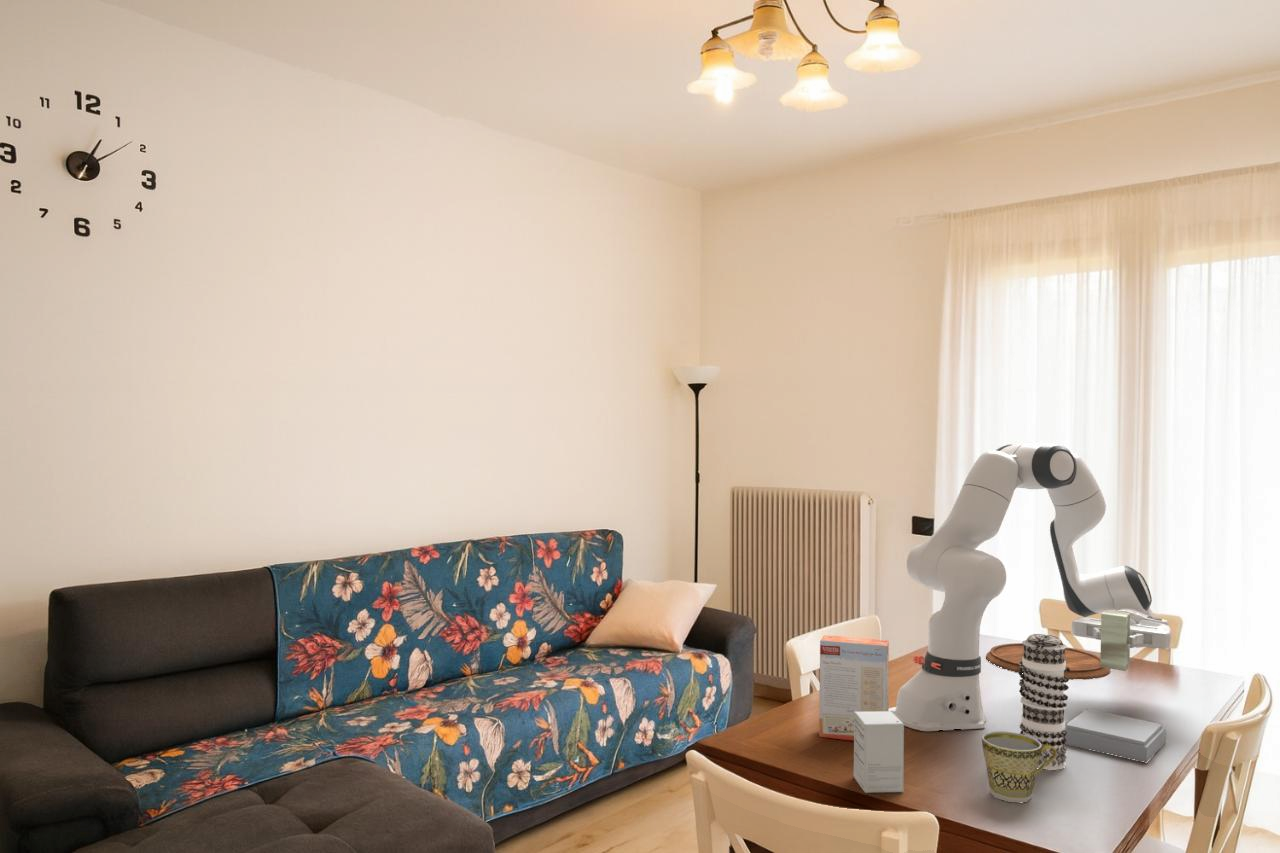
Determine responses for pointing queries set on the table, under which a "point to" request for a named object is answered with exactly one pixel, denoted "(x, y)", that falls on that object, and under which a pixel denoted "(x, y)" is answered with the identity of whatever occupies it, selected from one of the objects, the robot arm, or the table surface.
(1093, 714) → the plinth
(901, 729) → the supplement box
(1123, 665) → the tall block
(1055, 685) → the decorative candle
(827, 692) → the cracker box
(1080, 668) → the cutting board
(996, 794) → the ceramic cup
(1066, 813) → the table surface
